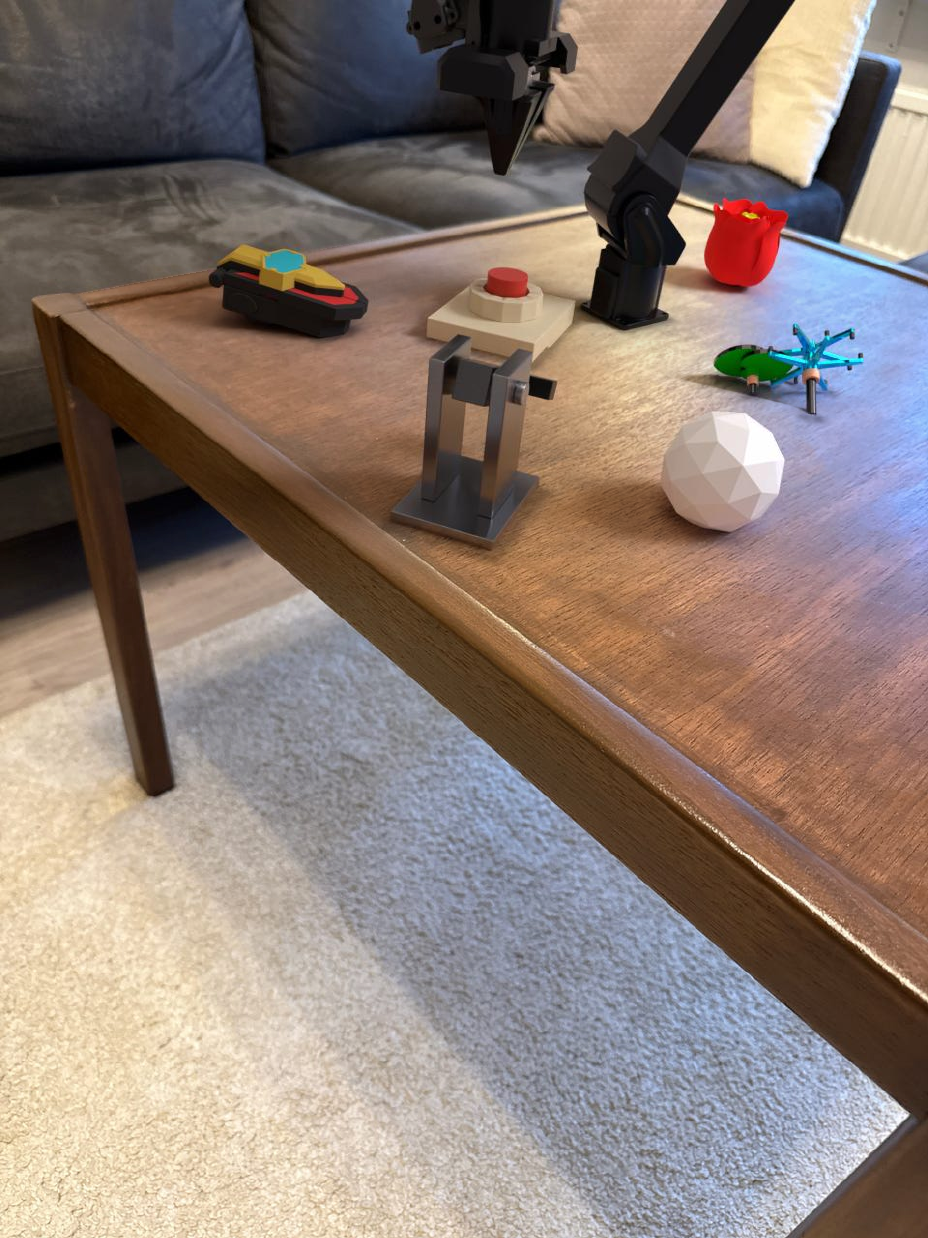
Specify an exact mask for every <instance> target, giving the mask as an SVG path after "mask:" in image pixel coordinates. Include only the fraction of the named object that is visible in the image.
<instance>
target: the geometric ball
mask: <svg viewBox="0 0 928 1238" xmlns="http://www.w3.org/2000/svg"><path fill="white" fill-rule="evenodd" d="M785 461H786V459H785V458H784V455H783V453H782V451H781V449H780V446H779V445H778V443H777V440H776V438H775V436H774V434H773V432H771V431H770V430H769V429H767V428H766V426H763V425H762V424H761V423H759V422H758V421H756V420H755V419H754V418H753V417H751V416H750V415H749V414H747V413H746V412H734V411H733V412H732V411H716V410H715V411H714V410H711V411H710V412H707V413H705V414H703V415H701V416H699V417H697V418H695V419H693V420H691V421H689V422H687V423H685V424H683V425H681V427H680V428H679V430H678V432H677V433H676V435H675V437H674V438H673V439H672V441H671V443H670V444H669V446H668V447H667V449H666V451H665V452H664V454H663V461H662V467H661V475H660V480H659V481H660V482H659V484H660V486H661V488H662V489H663V491H664V493H665V495H666V497H667V498H668V500H669V502H670V504H671V506H672V507H673V509H674V511H675V513H676V514H678V515H679V516H680V517H682V518H683V519H685V520H686V521H688V522H689V523H690V524H693V525H695V526H698V527H700V528H702V529H708V530H715V531H722V532H727V533H731V532H734V531H736V530H738V529H740V528H742V527H744V526H746V525H749V524H750V523H753V522H755V521H756V520H758V519H761V518H762V516H763V515H764V513H765V512H766V511H767V510H768V509H769V507H770V506H771V505H772V504H773V502H774V501H775V500H776V498H777V497H778V496H779V494H780V489H781V483H782V478H783V472H784V467H785Z"/></svg>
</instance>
